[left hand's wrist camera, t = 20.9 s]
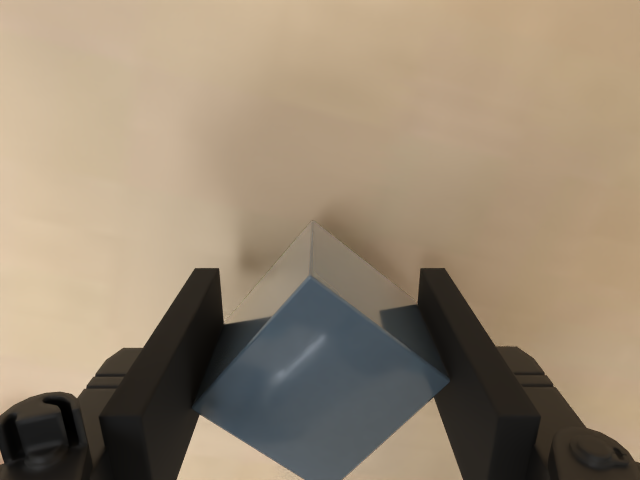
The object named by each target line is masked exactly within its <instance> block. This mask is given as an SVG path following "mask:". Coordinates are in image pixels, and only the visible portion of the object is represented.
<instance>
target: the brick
mask: <svg viewBox="0 0 640 480" xmlns="http://www.w3.org/2000/svg"><path fill="white" fill-rule="evenodd" d="M449 383H450V378H449V376H448V374H447V372H446V369H445V367H444V365H443V363H442V360H441V358H440V356H439V353H438V351H437V349H436V347H435V344H434V342H433V340H432V338H431V335H430V333H429V331H428V329H427V326H426V324H425V322H424V319H423V317H422V315H421V313H420V310H419V308H418V306H417V304H416V301H415V300H414V299H413V298H412V297H410V296H409V295H408V294H407V293H405V292H404V291H403V290H402V289H400V288H399V287H398V286H396V285H395V284H394V283H393V282H391V281H390V280H389V279H388V278H386V277H385V276H384V275H383V274H381V273H380V272H379V271H377V270H376V269H375V268H374V267H372V266H371V265H370V264H369V263H367V262H366V261H365V260H363V259H362V258H361V257H360V256H358V255H357V254H356V253H355V252H353V251H352V250H351V249H350V248H348V247H347V246H346V245H344V244H343V243H342V242H341V241H339V240H338V239H337V238H336V237H334V236H333V235H332V234H331V233H329V232H328V231H327V230H325V229H324V228H323V227H322V226H320V225H319V224H318V223H317V222H315V221H313V220H312V221H311V222H310V223H309V224H308V225H307V226H306V228H305V229H304V230H303V231H302V232H301V233H300V235H299V236H298V237H297V238H296V239H295V240H294V242H293V243H292V244H291V245H290V246H289V247H288V249H287V250H286V251H285V252H284V253H283V254H282V256H281V257H280V258H279V259H278V260H277V261H276V263H275V264H274V265H273V266H272V267H271V268H270V270H269V271H268V272H267V273H266V274H265V275H264V277H263V278H262V279H261V280H260V281H259V282H258V284H257V285H256V286H255V287H254V288H253V289H252V291H251V292H250V293H249V294H248V295H247V296H246V298H245V299H244V300H243V301H242V302H241V303H240V305H239V306H238V307H237V308H236V309H235V310H234V312H233V313H232V314H231V315H230V316H229V317H228V319H227V320H226V321H225V323H224V325H223V328H222V330H221V333H220V336H219V338H218V341H217V343H216V346H215V348H214V351H213V353H212V356H211V358H210V361H209V364H208V366H207V369H206V371H205V374H204V376H203V379H202V381H201V384H200V387H199V389H198V392H197V394H196V397H195V399H194V402H193V404H192V410H193V411H195V412H197V413H198V414H200V415H201V416H203V417H205V418H206V419H208V420H209V421H211V422H213V423H214V424H216V425H217V426H219V427H221V428H222V429H224V430H225V431H227V432H229V433H230V434H232V435H234V436H235V437H237V438H238V439H240V440H242V441H243V442H245V443H246V444H248V445H250V446H251V447H253V448H254V449H256V450H258V451H259V452H261V453H262V454H264V455H266V456H267V457H269V458H270V459H272V460H274V461H275V462H277V463H278V464H280V465H282V466H283V467H285V468H287V469H288V470H290V471H291V472H293V473H295V474H296V475H298V476H299V477H301V478H303V479H304V480H343V479H344V478H345V477H346V476H347V475H348V474H349V473H350V472H351V471H353V470H354V469H355V468H356V467H357V466H358V465H359V464H360V463H361V462H363V461H364V460H365V459H366V458H367V457H368V456H369V455H370V454H371V453H372V452H374V451H375V450H376V449H377V448H378V447H379V446H380V445H381V444H382V443H384V442H385V441H386V440H387V439H388V438H389V437H390V436H391V435H392V434H393V433H395V432H396V431H397V430H398V429H399V428H400V427H401V426H402V425H403V424H405V423H406V422H407V421H408V420H409V419H410V418H411V417H412V416H413V415H414V414H416V413H417V412H418V411H419V410H420V409H421V408H422V407H423V406H424V405H426V404H427V403H428V402H429V401H430V400H431V399H432V398H433V397H434V396H435V395H437V394H438V393H439V392H440V391H441V390H442V389H443V388H444V387H445V386H447V385H448V384H449Z"/></svg>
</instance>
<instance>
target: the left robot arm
mask: <svg viewBox="0 0 640 480" xmlns="http://www.w3.org/2000/svg"><path fill="white" fill-rule="evenodd" d="M417 306H418V308H419V310H420V313H421V315H422V317H423V319H424V322H425V324H426V326H427V329H428V331H429V333H430V335H431V338H432V340H433V342H434V344H435V347H436V349H437V351H438V353H439V356H440V358H441V360H442V363H443V365H444V367H445V369H446V372H447V374H448V376H449V378H450V383H449V384H448V385H447V386H445V387H444V388H443V389H442V390H441V391H440V392H439V393H438V394H437V395H435V396H434V399H435V402H436V405H437V407H438V410H439V413H440V416H441V419H442V421H443V424H444V427H445V430H446V433H447V435H448V438H449V441H450V444H451V447H452V449H453V452H454V455H455V458H456V461H457V464H458V466H459V469H460V472H461V475H462V478H463V480H640V463H638V462H635V461H634V459H633V458H632V456H631V455H630V453H629V452H628V451H627V450H626V449H625V448H624V447H623V446H621V445H620V444H619V443H618V442H617V441H615V440H614V439H612V438H610V437H608V436H606V435H604V434H603V433H601V432H598V431H595V430H591V429H588V428H586V427H585V425H584V424H583V423H582V421H581V420H580V419H579V417H578V416H577V415H576V413H575V412H574V411H573V409H572V408H571V407H570V406H569V404H568V403H567V402H566V400H565V399H564V398H563V396H562V395H561V394H560V392H559V391H558V390H557V388H556V387H553V383H552V382H551V381H550V379H549V378H548V377H547V375H545V374H544V371H543V370H542V369H541V367H540V366H539V365H538V363H537V362H536V361H535V360H534V358H532V357H531V356H529V355H528V354H527V353H525V352H524V351H522V350H521V349H519V348H518V347H496V346H495V345H494V343H493V342H492V340H491V339H490V337H489V336H488V334H487V333H486V331H485V330H484V328H483V327H482V325H481V323H480V322H479V320H478V319H477V317H476V316H475V314H474V313H473V311H472V310H471V308H470V307H469V305H468V304H467V302H466V300H465V299H464V297H463V296H462V294H461V293H460V291H459V290H458V288H457V287H456V285H455V284H454V282H453V281H452V279H451V277H450V276H449V274H448V273H447V271H446V270H445V268H421V270H420V281H419V293H418V305H417ZM223 325H224V321H223V309H222V297H221V286H220V274H219V268H195V269H194V271H193V272H192V274H191V275H190V277H189V278H188V280H187V282H186V283H185V285H184V286H183V288H182V289H181V291H180V292H179V294H178V295H177V297H176V298H175V300H174V301H173V303H172V305H171V306H170V308H169V309H168V311H167V312H166V314H165V315H164V317H163V318H162V320H161V321H160V323H159V324H158V326H157V327H156V329H155V331H154V332H153V334H152V335H151V337H150V338H149V340H148V341H147V343H146V344H145V346H144V347H143V348H123V349H121V350H120V351H118V352H117V353H115V354H114V355H113V356H111V357H110V358H108V359H107V360H106V361H105V362H104V363H103V365H102V366H101V367H100V369H99V370H98V371H97V373H96V375H95V377H93V378H92V379H91V381H90V382H89V383H88V385H87V388H86V389H84V390H83V391H82V393H81V394H80V395H79V397H78V398H76V397H75V396H73V395H72V394H69V393H64V392H51V393H44V394H40V395H37V396H33V397H30V398H28V399H26V400H24V401H21V402H19V403H17V404H15V405H13V406H12V407H11V408H10V409H8V410H7V411H6V412H4V413H3V414H2V415H0V451H1V454H2V457H3V460H4V464H1V465H0V480H176V479H177V477H178V474H179V471H180V468H181V465H182V463H183V460H184V457H185V454H186V451H187V449H188V446H189V443H190V440H191V437H192V434H193V432H194V429H195V426H196V423H197V420H198V418H199V415H200V414H198V413H197V412H195V411H193V410H192V404H193V402H194V399H195V397H196V394H197V392H198V389H199V387H200V384H201V381H202V379H203V376H204V374H205V371H206V369H207V366H208V364H209V361H210V358H211V356H212V353H213V351H214V348H215V346H216V343H217V341H218V338H219V336H220V333H221V330H222V328H223Z"/></svg>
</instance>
